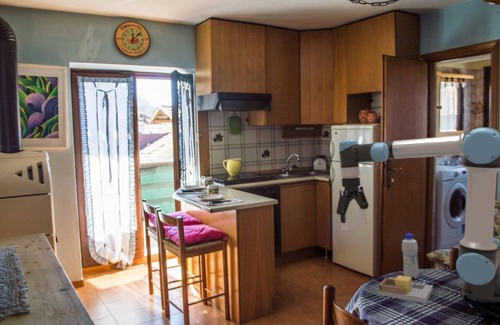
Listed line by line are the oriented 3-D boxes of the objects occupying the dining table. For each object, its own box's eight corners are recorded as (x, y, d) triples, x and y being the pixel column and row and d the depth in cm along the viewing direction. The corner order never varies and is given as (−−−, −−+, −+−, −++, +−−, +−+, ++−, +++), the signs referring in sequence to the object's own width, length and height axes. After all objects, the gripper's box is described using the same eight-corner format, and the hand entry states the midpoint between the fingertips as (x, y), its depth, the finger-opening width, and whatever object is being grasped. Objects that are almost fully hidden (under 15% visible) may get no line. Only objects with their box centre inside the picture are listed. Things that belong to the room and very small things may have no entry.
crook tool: (409, 283, 166) (408, 279, 166) (406, 286, 163) (406, 282, 163) (389, 280, 170) (389, 277, 170) (387, 283, 167) (386, 279, 167)
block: (411, 289, 159) (411, 276, 159) (408, 293, 155) (408, 281, 155) (399, 287, 162) (398, 275, 162) (395, 291, 158) (395, 279, 158)
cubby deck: (433, 290, 161) (432, 279, 161) (426, 303, 150) (425, 291, 150) (388, 284, 172) (387, 274, 172) (378, 295, 160) (377, 284, 160)
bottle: (400, 276, 180) (397, 233, 179) (412, 274, 182) (410, 230, 181) (410, 281, 173) (407, 235, 172) (422, 278, 175) (420, 233, 174)
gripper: (359, 173, 178) (363, 220, 178) (325, 180, 161) (329, 232, 162) (374, 173, 172) (378, 222, 173) (340, 180, 155) (344, 234, 156)
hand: (354, 227), depth 167 cm, fingers open, 13 cm apart
